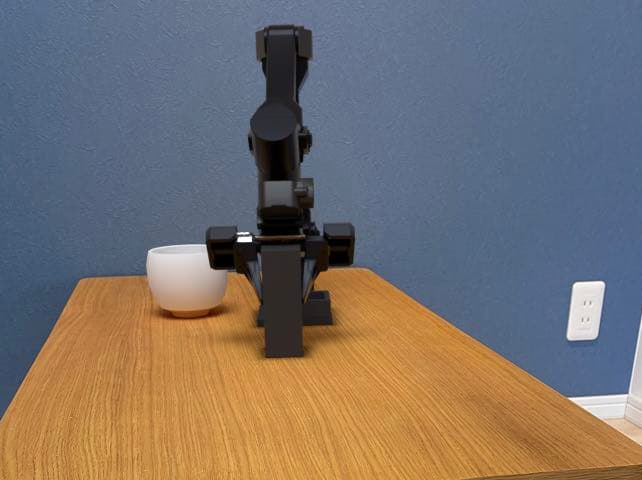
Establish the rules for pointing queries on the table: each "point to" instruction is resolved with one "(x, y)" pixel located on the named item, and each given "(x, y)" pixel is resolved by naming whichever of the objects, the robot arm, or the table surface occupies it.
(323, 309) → the base pad
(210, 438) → the table surface
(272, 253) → the post
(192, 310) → the cup
